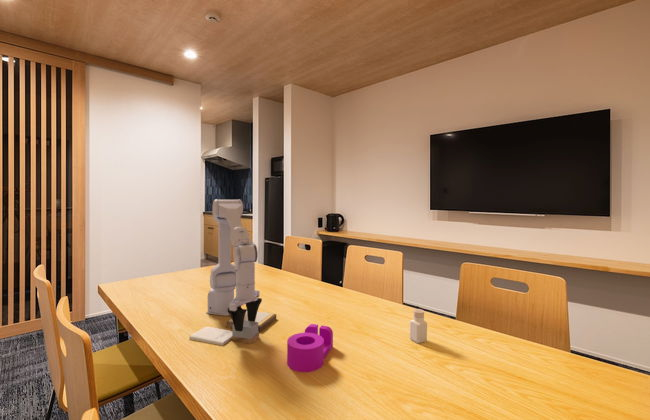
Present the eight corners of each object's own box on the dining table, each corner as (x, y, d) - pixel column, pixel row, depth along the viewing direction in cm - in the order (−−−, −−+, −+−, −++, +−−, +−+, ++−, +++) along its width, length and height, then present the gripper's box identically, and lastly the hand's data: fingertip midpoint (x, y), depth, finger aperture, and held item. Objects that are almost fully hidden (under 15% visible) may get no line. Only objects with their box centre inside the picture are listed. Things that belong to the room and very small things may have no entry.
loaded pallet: (231, 340, 100) (231, 325, 100) (239, 334, 104) (239, 319, 104) (251, 344, 98) (251, 328, 97) (259, 337, 102) (259, 322, 102)
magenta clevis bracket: (315, 376, 81) (315, 351, 81) (280, 368, 84) (280, 345, 84) (335, 348, 96) (335, 327, 96) (304, 342, 99) (305, 322, 99)
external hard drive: (206, 330, 108) (238, 336, 104) (189, 341, 100) (222, 347, 96) (206, 325, 108) (238, 331, 104) (189, 335, 100) (222, 342, 96)
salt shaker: (417, 344, 98) (418, 313, 98) (408, 339, 102) (409, 309, 101) (427, 341, 100) (428, 311, 100) (418, 336, 104) (419, 307, 103)
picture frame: (226, 326, 110) (226, 321, 110) (245, 314, 121) (245, 309, 121) (260, 331, 106) (260, 325, 106) (276, 318, 118) (276, 313, 117)
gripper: (244, 290, 92) (244, 337, 93) (267, 278, 106) (267, 318, 106) (223, 288, 94) (223, 333, 95) (248, 276, 108) (248, 316, 108)
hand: (245, 325), depth 101 cm, fingers open, 7 cm apart
